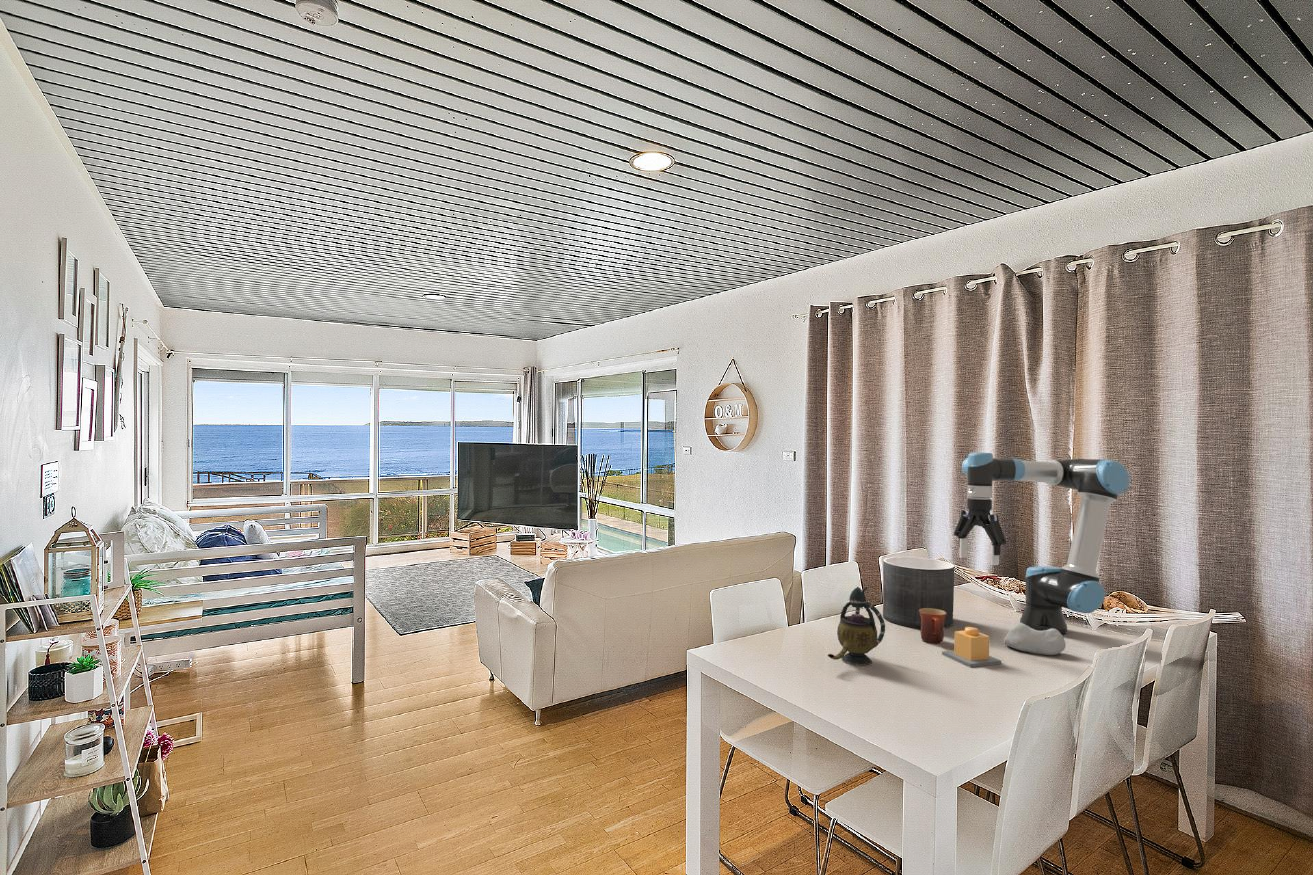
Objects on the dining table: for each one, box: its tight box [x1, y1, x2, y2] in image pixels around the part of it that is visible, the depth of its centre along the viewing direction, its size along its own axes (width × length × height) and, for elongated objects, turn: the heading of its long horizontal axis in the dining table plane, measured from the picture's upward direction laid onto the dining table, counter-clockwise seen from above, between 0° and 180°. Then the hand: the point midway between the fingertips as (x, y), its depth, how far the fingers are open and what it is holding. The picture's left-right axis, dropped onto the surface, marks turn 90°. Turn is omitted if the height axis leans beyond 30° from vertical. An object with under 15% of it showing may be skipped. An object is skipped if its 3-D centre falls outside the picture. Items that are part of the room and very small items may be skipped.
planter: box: [882, 556, 955, 629], centre depth 249 cm, size 25×25×22 cm
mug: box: [919, 608, 946, 645], centre depth 221 cm, size 12×9×10 cm
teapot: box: [827, 586, 886, 667], centre depth 198 cm, size 12×25×23 cm, turn 135°
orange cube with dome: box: [953, 626, 990, 661], centre depth 204 cm, size 7×7×9 cm
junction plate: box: [941, 649, 1003, 668], centre depth 204 cm, size 12×12×6 cm
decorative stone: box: [1003, 622, 1067, 656], centre depth 214 cm, size 17×10×10 cm
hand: (978, 561), depth 218 cm, fingers open, 13 cm apart
